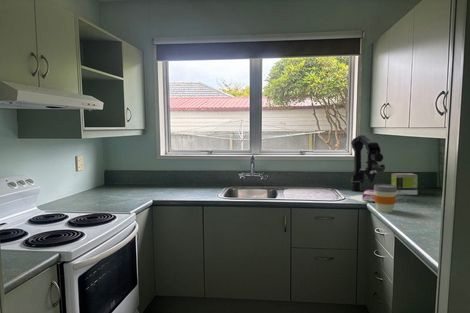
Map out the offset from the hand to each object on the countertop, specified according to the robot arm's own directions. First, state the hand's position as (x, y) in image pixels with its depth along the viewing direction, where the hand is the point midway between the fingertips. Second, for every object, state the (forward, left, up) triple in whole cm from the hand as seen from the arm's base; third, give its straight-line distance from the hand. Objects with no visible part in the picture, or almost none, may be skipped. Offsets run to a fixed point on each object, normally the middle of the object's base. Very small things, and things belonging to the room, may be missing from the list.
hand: (371, 182), depth 231 cm
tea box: (-31, +4, -11) cm, 34 cm away
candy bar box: (-1, +1, -8) cm, 8 cm away
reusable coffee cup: (+24, +28, -11) cm, 38 cm away
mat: (+9, 0, -10) cm, 14 cm away
